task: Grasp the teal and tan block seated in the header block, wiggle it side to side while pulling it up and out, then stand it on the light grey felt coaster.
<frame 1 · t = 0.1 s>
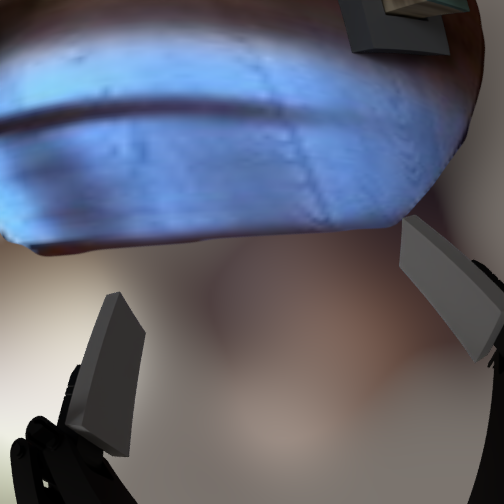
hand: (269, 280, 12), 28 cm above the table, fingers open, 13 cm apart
header block: (380, 6, 26), on the table
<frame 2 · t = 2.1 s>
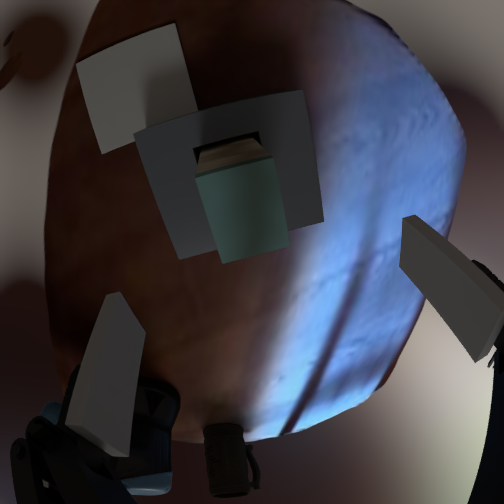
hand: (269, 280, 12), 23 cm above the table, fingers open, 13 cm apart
header block: (231, 163, 31), on the table
beer stein: (231, 431, 66), on the table
teal and tan block: (236, 181, 25), in the header block
coaster: (135, 87, 25), on the table
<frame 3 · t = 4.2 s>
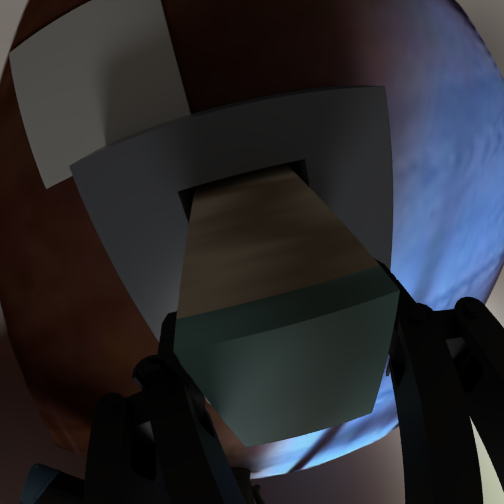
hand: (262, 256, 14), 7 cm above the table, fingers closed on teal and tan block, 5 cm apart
header block: (246, 202, 20), on the table
beer stein: (236, 472, 54), on the table
teal and tan block: (263, 258, 14), in the header block, touching gripper
coaster: (88, 79, 14), on the table
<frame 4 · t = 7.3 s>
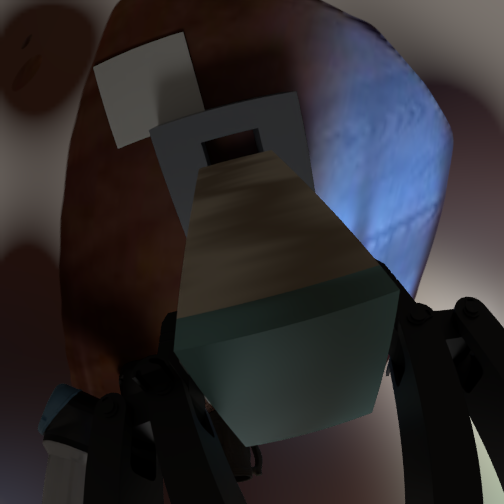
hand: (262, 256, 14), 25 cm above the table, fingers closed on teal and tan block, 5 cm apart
header block: (234, 157, 35), on the table
beer stein: (234, 417, 70), on the table
teal and tan block: (263, 258, 14), point 25 cm above the table, touching gripper
coaster: (148, 89, 29), on the table
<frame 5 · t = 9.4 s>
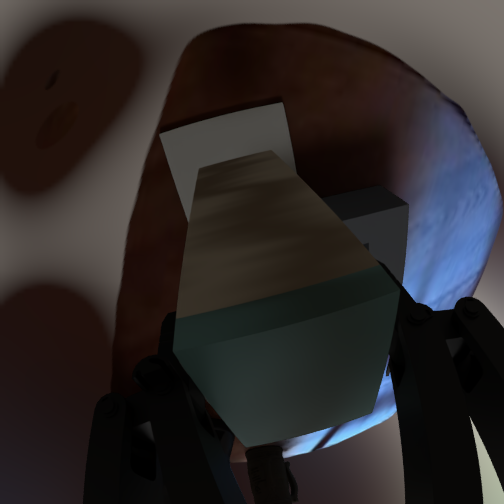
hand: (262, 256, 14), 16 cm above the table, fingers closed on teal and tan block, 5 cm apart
header block: (324, 252, 34), on the table
beer stein: (270, 451, 68), on the table
teal and tan block: (263, 258, 14), point 16 cm above the table, touching gripper
coaster: (235, 172, 28), on the table
when the fingers open (9 cm above the table, at t = 10.8 s): teal and tan block stays where it is, resting on coaster.
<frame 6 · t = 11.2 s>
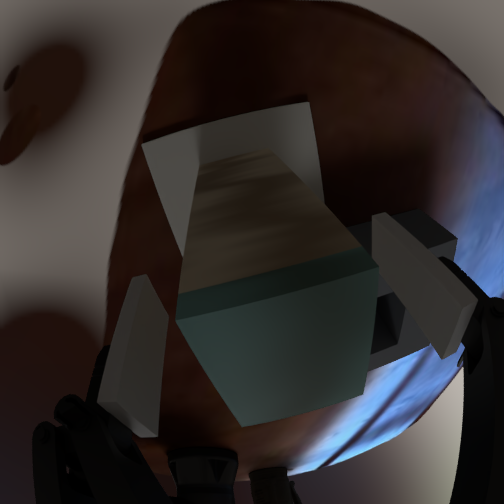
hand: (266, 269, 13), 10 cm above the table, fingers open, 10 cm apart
header block: (349, 288, 28), on the table
beer stein: (274, 471, 62), on the table
teal and tan block: (259, 248, 14), on the coaster
coaster: (243, 195, 21), on the table
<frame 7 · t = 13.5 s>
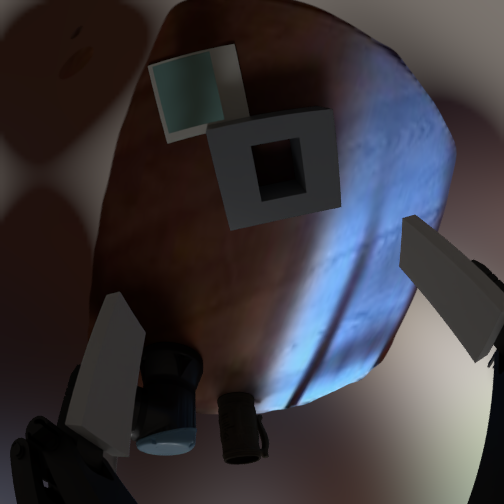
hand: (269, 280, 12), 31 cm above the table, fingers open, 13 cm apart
header block: (271, 159, 40), on the table
beer stein: (243, 401, 76), on the table
teal and tan block: (194, 92, 27), on the coaster
coaster: (199, 92, 34), on the table
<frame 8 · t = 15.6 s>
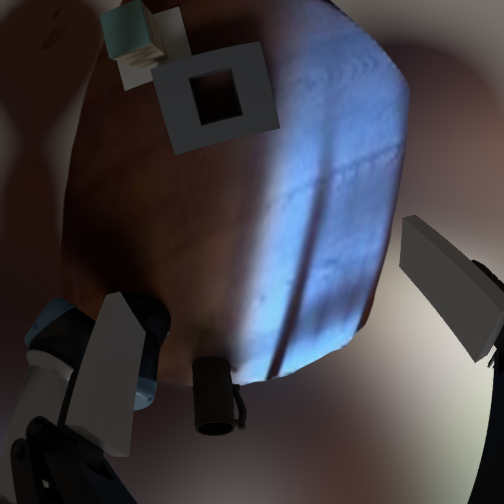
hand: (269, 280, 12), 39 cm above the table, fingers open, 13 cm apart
header block: (215, 96, 41), on the table
beer stein: (219, 369, 75), on the table
teal and tan block: (139, 38, 28), on the coaster
coaster: (151, 47, 35), on the table
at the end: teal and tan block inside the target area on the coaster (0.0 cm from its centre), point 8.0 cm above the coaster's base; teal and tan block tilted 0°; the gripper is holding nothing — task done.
